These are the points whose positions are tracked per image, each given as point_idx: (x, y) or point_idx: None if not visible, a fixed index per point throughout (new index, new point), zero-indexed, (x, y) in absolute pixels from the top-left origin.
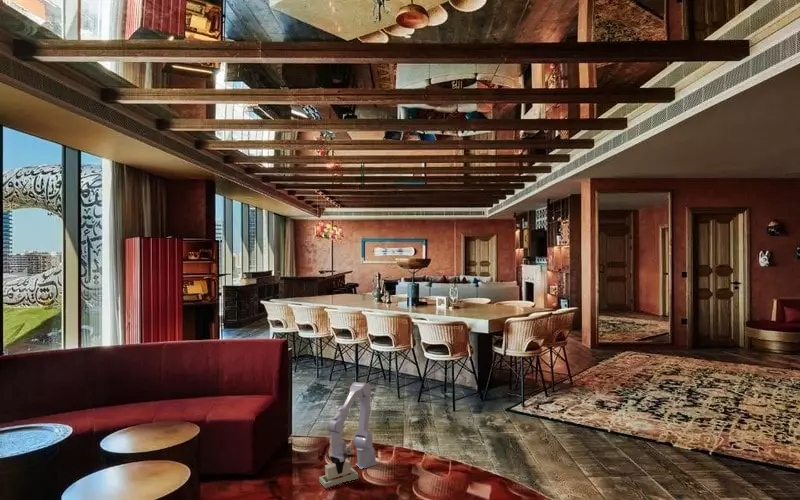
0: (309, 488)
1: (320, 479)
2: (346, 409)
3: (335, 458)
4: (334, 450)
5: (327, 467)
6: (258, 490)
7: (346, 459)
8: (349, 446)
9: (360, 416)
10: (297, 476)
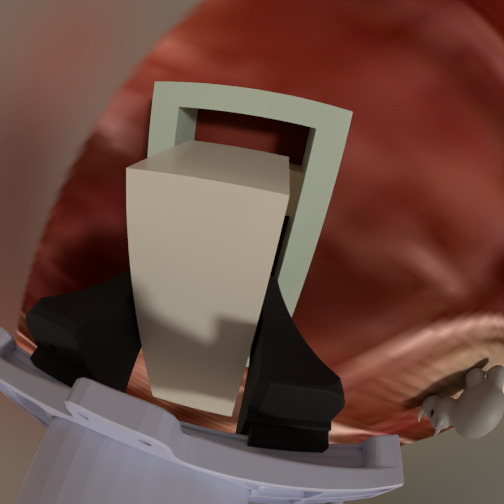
0: (316, 9)
1: (302, 99)
2: None
3: (247, 393)
4: (22, 487)
5: (163, 183)
6: None
7: (226, 411)
8: (436, 430)
9: None
10: None
